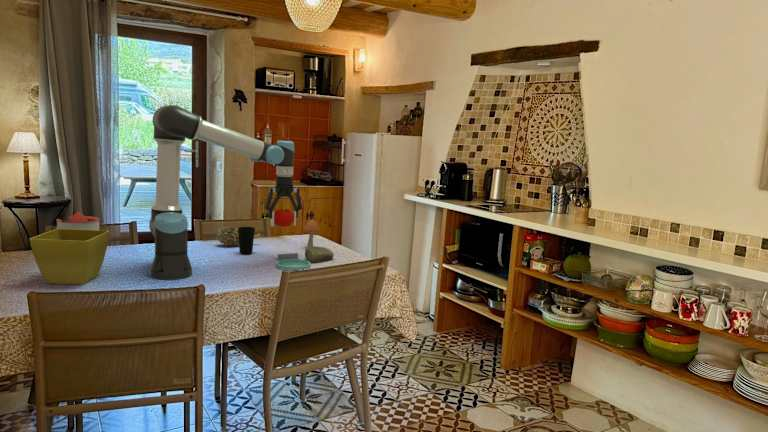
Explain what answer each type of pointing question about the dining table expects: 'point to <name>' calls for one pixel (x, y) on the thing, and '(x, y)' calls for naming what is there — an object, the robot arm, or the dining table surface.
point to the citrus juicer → (79, 222)
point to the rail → (287, 256)
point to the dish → (293, 264)
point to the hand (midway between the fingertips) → (283, 225)
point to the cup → (246, 240)
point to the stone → (318, 254)
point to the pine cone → (229, 236)
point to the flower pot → (70, 254)
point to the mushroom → (311, 231)
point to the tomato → (283, 217)
